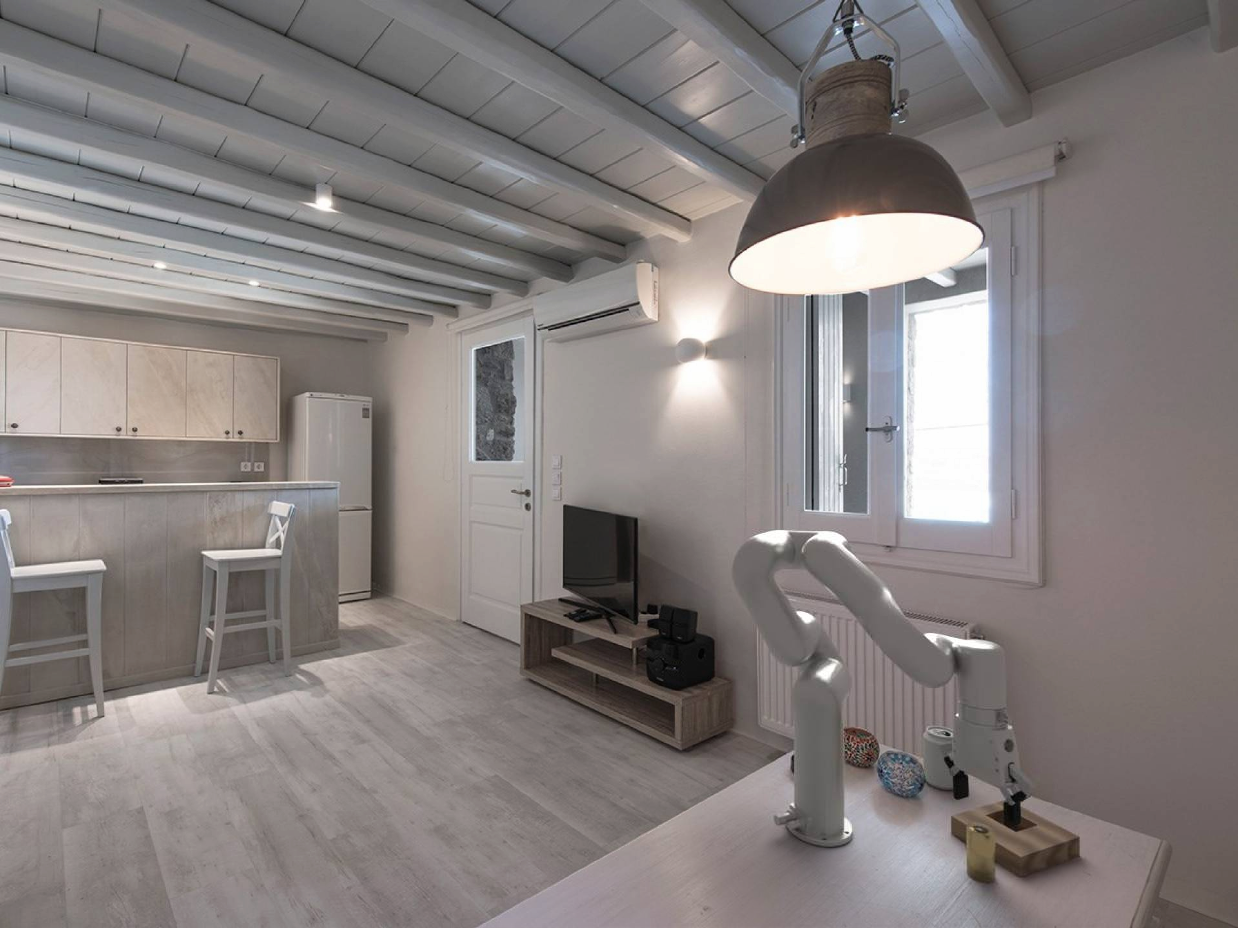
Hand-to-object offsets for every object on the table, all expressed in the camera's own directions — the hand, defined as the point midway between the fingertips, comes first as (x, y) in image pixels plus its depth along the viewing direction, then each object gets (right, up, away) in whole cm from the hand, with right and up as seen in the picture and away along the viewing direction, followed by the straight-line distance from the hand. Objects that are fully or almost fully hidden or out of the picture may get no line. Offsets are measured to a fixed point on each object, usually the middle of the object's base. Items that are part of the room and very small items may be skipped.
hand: (985, 810), depth 109 cm
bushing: (-1, -12, 0) cm, 12 cm away
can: (+9, -12, +32) cm, 36 cm away
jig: (+11, -12, +9) cm, 18 cm away
